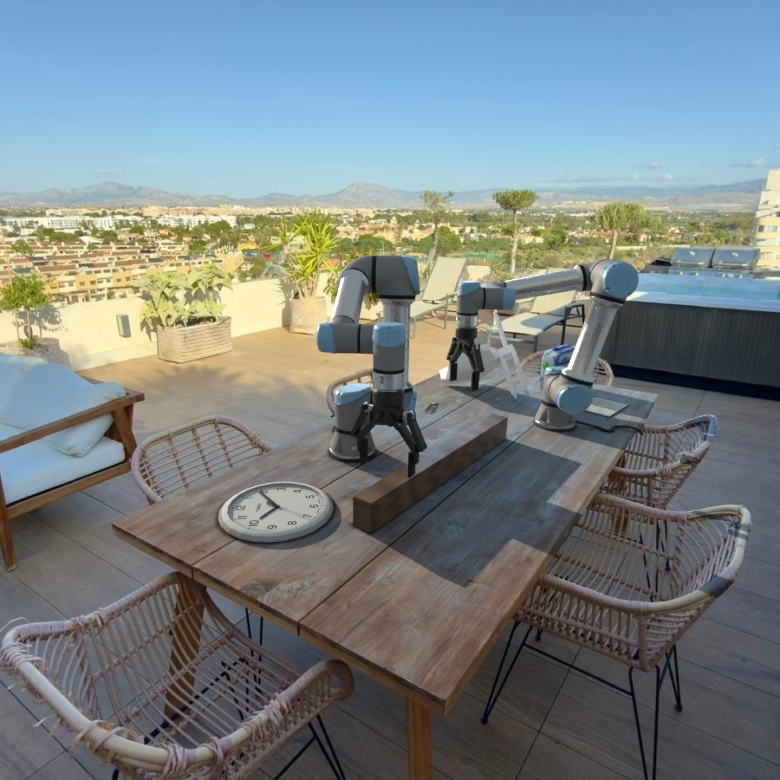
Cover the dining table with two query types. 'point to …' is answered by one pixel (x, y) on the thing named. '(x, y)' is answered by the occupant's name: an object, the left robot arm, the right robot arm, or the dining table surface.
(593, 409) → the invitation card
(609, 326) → the right robot arm
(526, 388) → the white plastic object
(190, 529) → the dining table surface
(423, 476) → the bar
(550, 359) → the lunch box
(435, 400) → the fork
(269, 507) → the wall clock
